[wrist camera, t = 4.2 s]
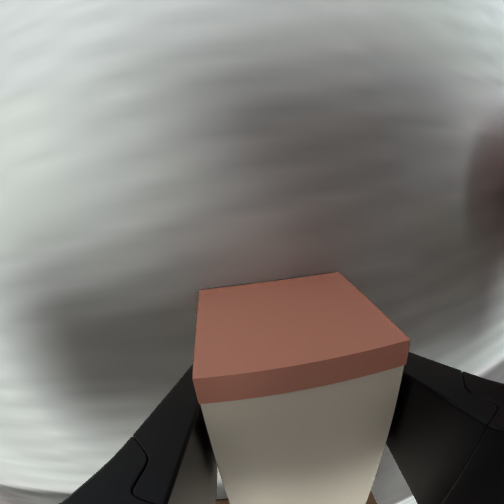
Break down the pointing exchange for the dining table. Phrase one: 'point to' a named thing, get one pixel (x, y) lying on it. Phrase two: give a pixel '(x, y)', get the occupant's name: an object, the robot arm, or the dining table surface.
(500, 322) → the dining table surface
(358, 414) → the pink-topped cream pillar
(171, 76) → the dining table surface
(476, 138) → the dining table surface
